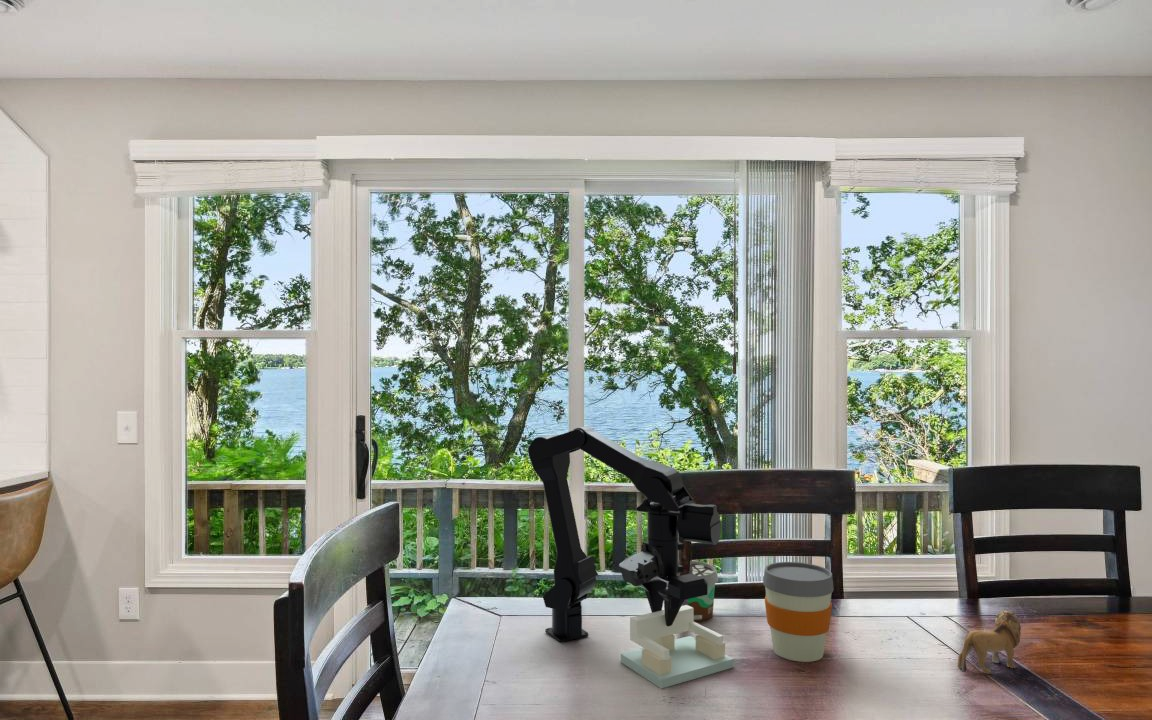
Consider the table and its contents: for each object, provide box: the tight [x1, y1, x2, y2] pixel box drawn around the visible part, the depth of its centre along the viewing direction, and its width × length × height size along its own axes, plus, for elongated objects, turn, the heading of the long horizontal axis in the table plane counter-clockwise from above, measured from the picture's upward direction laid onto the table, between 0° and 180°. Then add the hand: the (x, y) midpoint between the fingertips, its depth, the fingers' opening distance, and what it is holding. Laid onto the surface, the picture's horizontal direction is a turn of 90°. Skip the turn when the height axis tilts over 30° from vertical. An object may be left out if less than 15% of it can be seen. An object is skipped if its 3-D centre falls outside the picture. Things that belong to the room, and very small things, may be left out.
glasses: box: [629, 604, 724, 660], centre depth 126 cm, size 10×13×4 cm
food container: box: [687, 560, 719, 624], centre depth 150 cm, size 12×6×10 cm, turn 168°
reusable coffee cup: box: [762, 561, 834, 663], centre depth 132 cm, size 13×12×15 cm
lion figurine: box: [957, 609, 1022, 675], centre depth 125 cm, size 15×5×9 cm, turn 118°
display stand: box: [620, 634, 735, 689], centre depth 126 cm, size 12×16×4 cm
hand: (662, 622), depth 130 cm, fingers open, 3 cm apart
